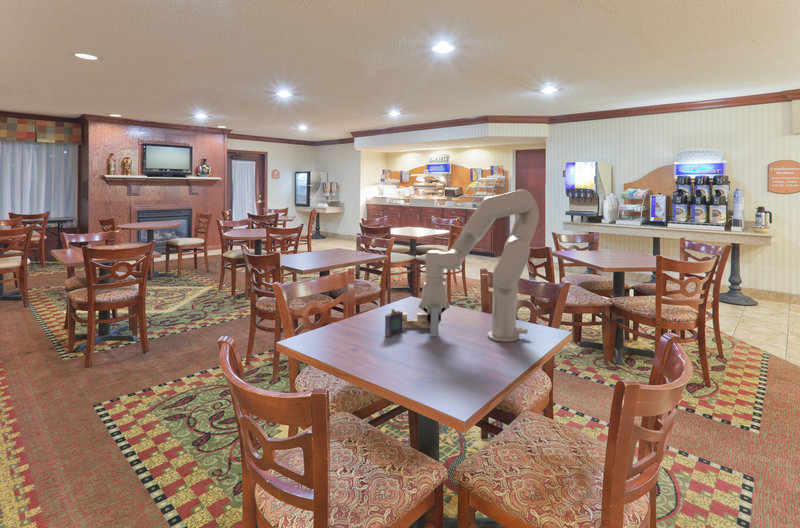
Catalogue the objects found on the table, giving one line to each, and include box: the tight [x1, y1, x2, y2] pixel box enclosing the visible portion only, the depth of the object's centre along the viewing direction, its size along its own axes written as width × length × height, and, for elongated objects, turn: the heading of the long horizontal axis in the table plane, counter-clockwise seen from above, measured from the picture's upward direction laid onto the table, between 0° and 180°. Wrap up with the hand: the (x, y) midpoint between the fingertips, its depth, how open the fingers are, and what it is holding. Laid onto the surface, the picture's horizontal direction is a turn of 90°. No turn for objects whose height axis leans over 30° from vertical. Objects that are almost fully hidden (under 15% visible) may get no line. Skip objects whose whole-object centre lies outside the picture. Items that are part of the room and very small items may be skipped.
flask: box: [384, 308, 403, 338], centre depth 185 cm, size 9×3×11 cm, turn 134°
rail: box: [388, 312, 430, 329], centre depth 195 cm, size 20×3×6 cm, turn 90°
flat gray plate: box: [429, 306, 440, 337], centre depth 187 cm, size 10×3×12 cm, turn 0°
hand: (433, 322), depth 187 cm, fingers closed on flat gray plate, 3 cm apart
